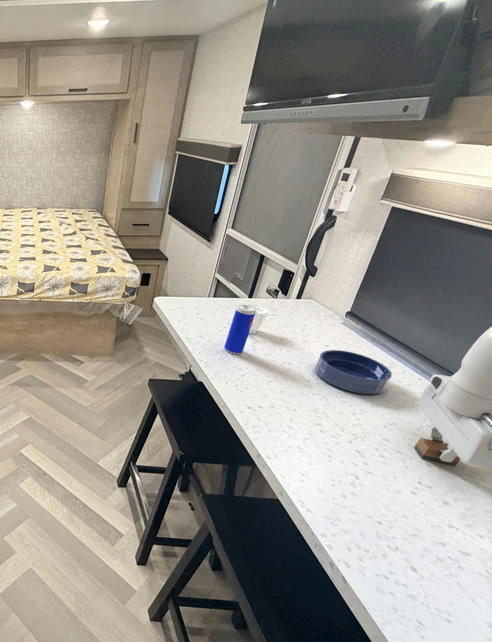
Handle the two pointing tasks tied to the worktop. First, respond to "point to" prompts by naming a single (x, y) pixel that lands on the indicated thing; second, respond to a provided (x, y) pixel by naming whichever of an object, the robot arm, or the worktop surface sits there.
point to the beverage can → (240, 329)
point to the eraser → (433, 451)
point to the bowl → (352, 372)
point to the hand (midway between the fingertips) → (437, 451)
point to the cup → (258, 318)
